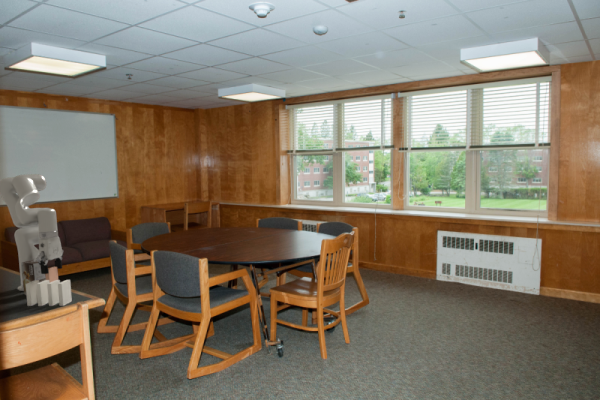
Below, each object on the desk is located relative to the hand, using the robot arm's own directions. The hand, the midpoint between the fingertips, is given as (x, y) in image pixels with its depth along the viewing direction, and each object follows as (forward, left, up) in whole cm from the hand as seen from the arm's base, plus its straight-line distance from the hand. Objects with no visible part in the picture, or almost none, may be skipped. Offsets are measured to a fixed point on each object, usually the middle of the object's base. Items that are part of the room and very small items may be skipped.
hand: (52, 271), depth 194 cm
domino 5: (+13, +6, -13) cm, 19 cm away
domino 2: (+8, -3, -13) cm, 15 cm away
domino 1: (+6, -7, -13) cm, 16 cm away
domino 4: (+11, +1, -13) cm, 17 cm away
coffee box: (-12, -9, -13) cm, 20 cm away
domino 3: (-1, 0, -9) cm, 9 cm away
